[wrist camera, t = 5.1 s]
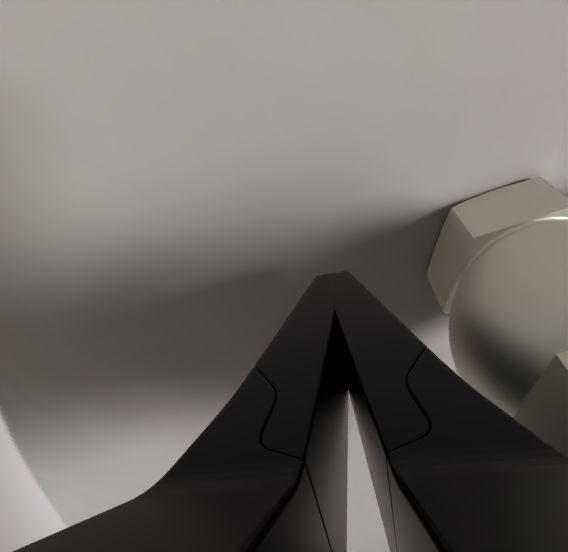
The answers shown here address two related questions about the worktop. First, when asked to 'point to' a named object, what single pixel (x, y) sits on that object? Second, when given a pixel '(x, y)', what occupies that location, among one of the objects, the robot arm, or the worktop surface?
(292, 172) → the worktop surface
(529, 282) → the valve
